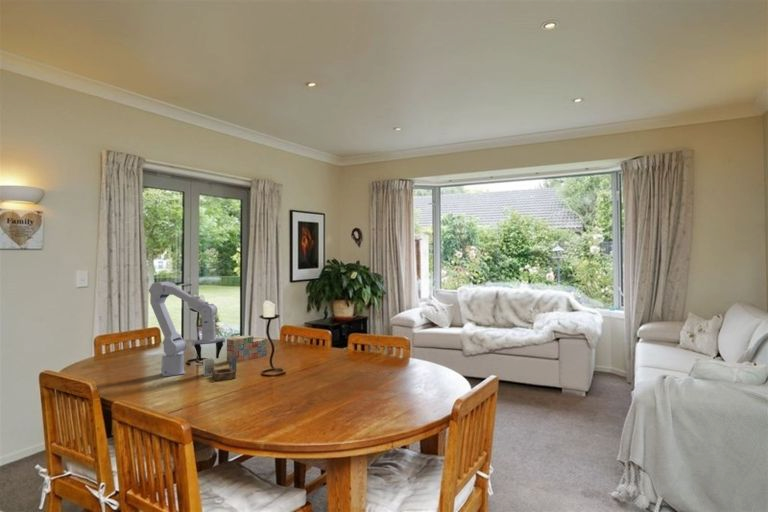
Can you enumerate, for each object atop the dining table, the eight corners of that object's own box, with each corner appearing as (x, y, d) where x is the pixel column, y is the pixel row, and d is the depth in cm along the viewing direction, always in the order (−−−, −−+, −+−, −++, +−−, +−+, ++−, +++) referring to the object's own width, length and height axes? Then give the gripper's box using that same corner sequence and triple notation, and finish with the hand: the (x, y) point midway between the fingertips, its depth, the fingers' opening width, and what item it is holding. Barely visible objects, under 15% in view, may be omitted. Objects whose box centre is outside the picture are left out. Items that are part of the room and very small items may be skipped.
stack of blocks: (259, 354, 244) (259, 332, 244) (266, 355, 241) (266, 333, 241) (226, 361, 227) (226, 338, 227) (233, 363, 223) (233, 339, 223)
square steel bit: (204, 376, 200) (204, 361, 200) (203, 374, 203) (203, 359, 203) (213, 374, 202) (213, 359, 202) (212, 372, 205) (212, 358, 205)
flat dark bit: (232, 372, 205) (232, 358, 205) (229, 370, 210) (229, 355, 210) (236, 372, 206) (236, 357, 206) (233, 369, 211) (233, 355, 211)
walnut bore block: (216, 381, 192) (216, 374, 192) (212, 376, 199) (212, 370, 199) (235, 378, 196) (235, 371, 196) (231, 373, 203) (231, 367, 203)
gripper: (193, 333, 195) (193, 363, 195) (226, 330, 203) (226, 358, 203) (190, 330, 201) (190, 359, 201) (223, 327, 209) (223, 355, 209)
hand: (208, 359), depth 202 cm, fingers open, 7 cm apart
